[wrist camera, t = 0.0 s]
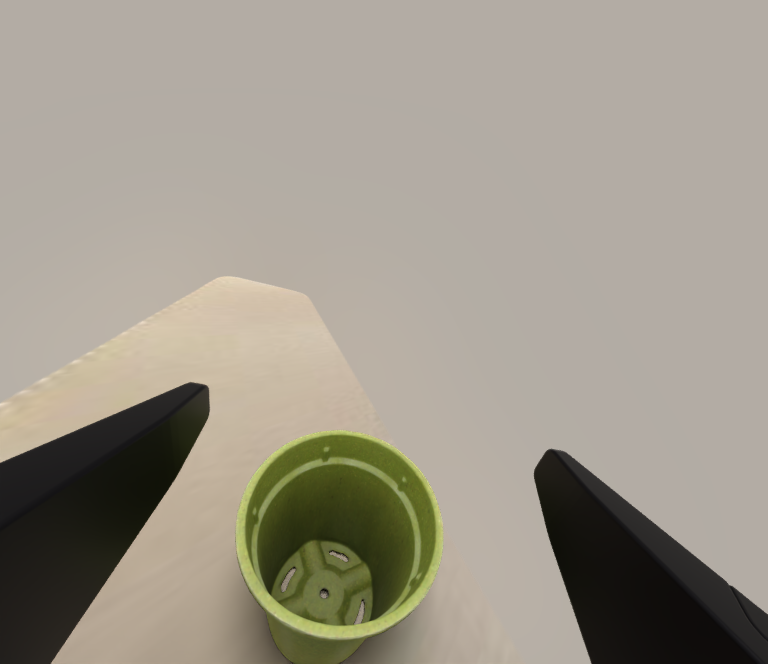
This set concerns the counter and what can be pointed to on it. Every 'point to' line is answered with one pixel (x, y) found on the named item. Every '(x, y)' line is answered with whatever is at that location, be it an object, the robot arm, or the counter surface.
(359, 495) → the plant pot
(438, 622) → the counter surface
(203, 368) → the counter surface
